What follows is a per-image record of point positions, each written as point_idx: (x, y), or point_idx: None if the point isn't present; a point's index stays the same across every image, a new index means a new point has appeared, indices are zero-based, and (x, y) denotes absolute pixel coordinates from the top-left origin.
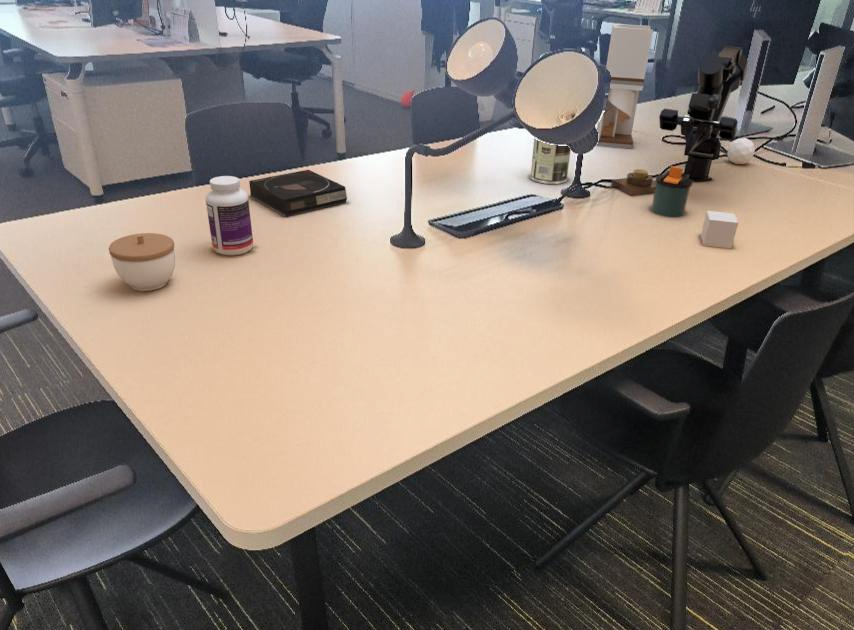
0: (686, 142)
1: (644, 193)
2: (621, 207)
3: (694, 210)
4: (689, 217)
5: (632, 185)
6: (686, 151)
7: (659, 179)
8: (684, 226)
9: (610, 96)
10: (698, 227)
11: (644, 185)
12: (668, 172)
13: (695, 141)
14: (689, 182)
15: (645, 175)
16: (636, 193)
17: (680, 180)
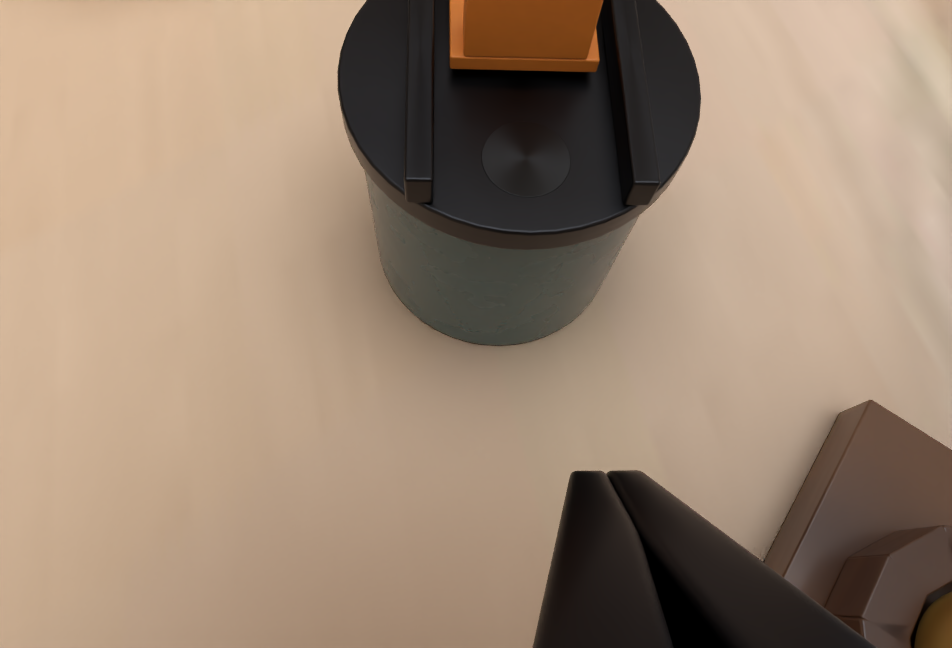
0: (773, 580)
1: (787, 520)
2: (769, 143)
3: (321, 371)
4: (331, 205)
5: (936, 520)
6: (625, 475)
7: (641, 8)
8: (332, 45)
9: None
10: (250, 70)
11: (850, 561)
12: (628, 125)
13: (547, 635)
14: (365, 70)
15: (945, 634)
16: (829, 447)
17: (449, 8)
